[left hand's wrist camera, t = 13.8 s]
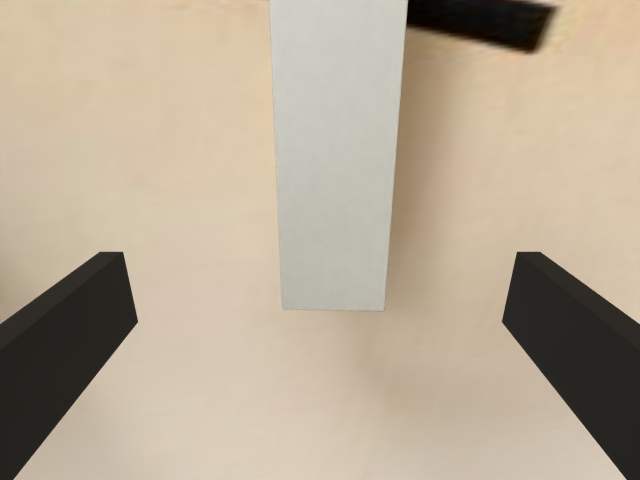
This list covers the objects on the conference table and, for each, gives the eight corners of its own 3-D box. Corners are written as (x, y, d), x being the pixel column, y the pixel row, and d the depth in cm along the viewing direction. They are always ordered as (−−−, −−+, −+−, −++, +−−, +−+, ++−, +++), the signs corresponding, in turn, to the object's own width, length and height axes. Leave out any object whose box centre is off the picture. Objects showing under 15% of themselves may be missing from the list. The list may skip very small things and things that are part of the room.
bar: (368, 246, 26) (384, 311, 18) (296, 245, 26) (281, 310, 18) (391, -175, 18) (437, -383, 10) (286, -173, 18) (252, -376, 10)
